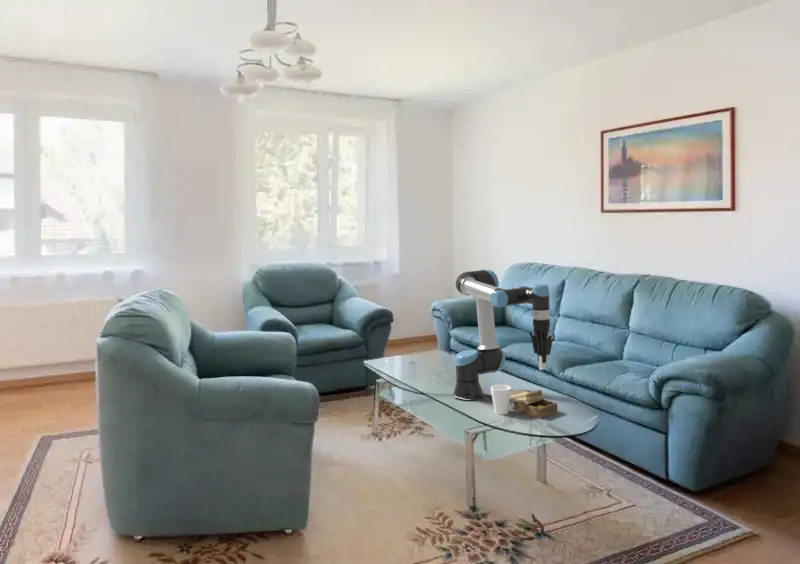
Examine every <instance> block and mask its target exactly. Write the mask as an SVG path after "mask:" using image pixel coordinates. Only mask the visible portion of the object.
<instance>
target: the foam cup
mask: <svg viewBox="0 0 800 564" xmlns="http://www.w3.org/2000/svg"><path fill="white" fill-rule="evenodd" d="M511 392H512V386H510V385H508V384H495V385H492V386H490V394H491V398H492V405H493V410H494V413H495V414H496V415H501V416H502V415H503V416H505V415H508V414H509V412H510V404H511V400H510V395H511Z"/></svg>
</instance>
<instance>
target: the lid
mask: <svg viewBox="0 0 800 564" xmlns="http://www.w3.org/2000/svg"><path fill="white" fill-rule="evenodd" d="M543 399H544V400H545V396H543V390H541V389H536V390H534V391H531V392H528V391H525V390H520V389H518V390H514V391H511V395H510V401H512V402H514V401H516V402H519V403H523V404H526V405H528V404H531V403H534V402H537V401H540V400H543Z"/></svg>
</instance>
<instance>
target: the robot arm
mask: <svg viewBox="0 0 800 564" xmlns="http://www.w3.org/2000/svg"><path fill="white" fill-rule="evenodd" d="M455 287H456V290H457V291H458V293H459V294H461V295H464V296H472V298H473V299H475V305H476V316H477V317H476V318H477V327H478V338H479V339H478V340H479V345H478V346H477V347H476V349H469V350H467V349H466V350H463V351H460V352H458V353H457V354H456V355H455V360H454V361H455V362H454V363H455V380H456V381H455V388H454V391H453V395H454V394H455V395H456V396H458V397H462V398H465V399H476V400H479V399H478V398H480V399H481V397H482V398H483V397H484V395H483V394H484V392H483V389H482V386H481V384H480V380H479V379H480V377H479V375H480V376H481V375H485V374H490V373H496V372H500V371H501V370H503V368H504V366H505V364H506V355H505V353H504V351H503V349H501V348H500V345H498V344H497V338H496V326H495V325H496V324H495V314H494V307H495V308H503V307H510V306H516V305H517V306H518V305H523V304H524V305H525V304H528V305H529V304H530V305H532V318H533V319H532V327H533V330H532V331H531V332H529V333H528V334H529V336H530V339H531V343H532V349H533V353H534V354H536V355H537V362H538V370H540V371H543V370H546V368H547V367H546V366H547V365H546V363H547V356H549V355H551V351H552V345H553V342H554V341H553V340H554V339H555V335H554V334H552V333H551V331H550V327H551V320H550V318H551V315H550V314H551V313H550V312H551V310H550V294H551V293H550V288H549V285H548V284H545V283H544V284H542V283H536V284H532V285H531V287H529V286H525V285H524V286H518V287H516V288H515V287H514V288H508V289H504V288H501V287H500V286H499V278H498V276H497V274H496V273H495V271H493V270H491V269H480V270H473V271H472V270H471V271H465V272H462V273H461V274H459V275H458V276H457V278H456V280H455Z"/></svg>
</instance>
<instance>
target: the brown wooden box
mask: <svg viewBox="0 0 800 564" xmlns="http://www.w3.org/2000/svg"><path fill="white" fill-rule="evenodd" d="M539 405H541V406H545V407H542V408H537V406H539ZM513 411H514V412H516V413H519V414H523V415H526V416H529V417H532V418H535V419H539V420H541V419H544V418H546V417H550V416H552V415H556V414H557V413H558V402H553V401H551V400H547V399H545V398H544V399H543V400H540V401H537V402H534V403H531V404H528V405H526V404H523V403H519V402H516V401H513Z"/></svg>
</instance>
